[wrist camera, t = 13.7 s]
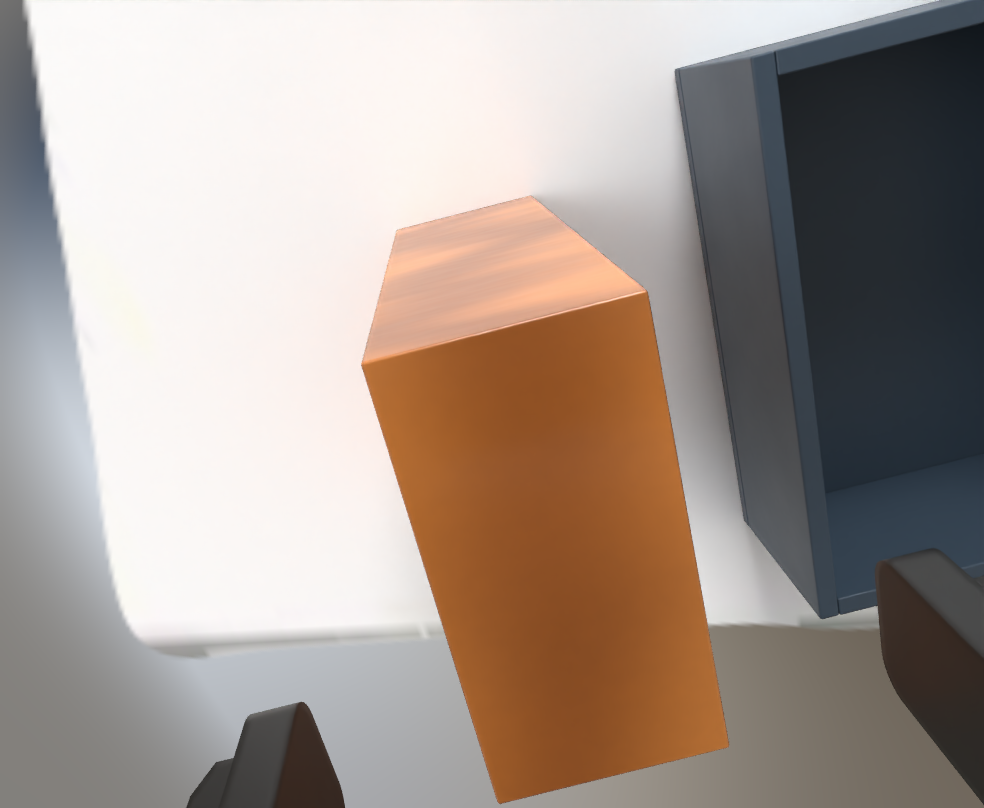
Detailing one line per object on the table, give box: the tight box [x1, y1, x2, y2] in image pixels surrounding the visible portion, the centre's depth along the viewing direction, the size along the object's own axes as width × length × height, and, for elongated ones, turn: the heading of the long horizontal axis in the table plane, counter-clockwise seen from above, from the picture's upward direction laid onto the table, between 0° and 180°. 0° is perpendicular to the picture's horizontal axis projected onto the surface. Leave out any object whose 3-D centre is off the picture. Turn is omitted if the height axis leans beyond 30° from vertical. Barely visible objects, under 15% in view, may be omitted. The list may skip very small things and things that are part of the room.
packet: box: [361, 196, 729, 804], centre depth 21 cm, size 4×9×15 cm, turn 14°
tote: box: [675, 0, 984, 619], centre depth 25 cm, size 11×16×6 cm
